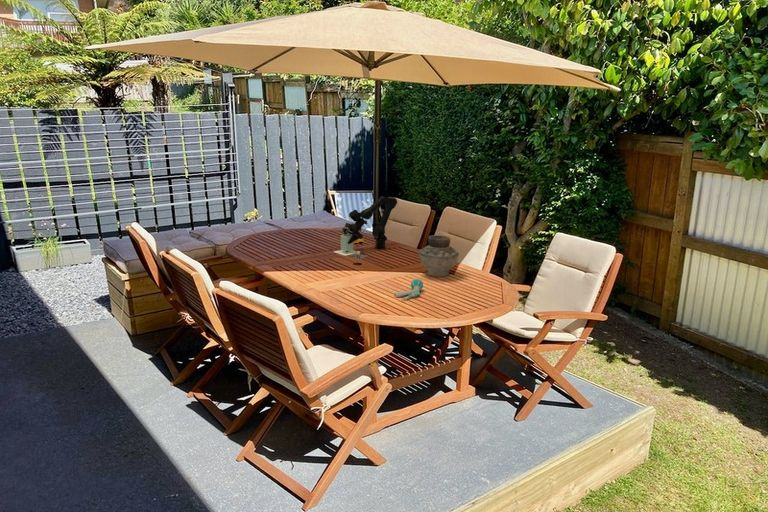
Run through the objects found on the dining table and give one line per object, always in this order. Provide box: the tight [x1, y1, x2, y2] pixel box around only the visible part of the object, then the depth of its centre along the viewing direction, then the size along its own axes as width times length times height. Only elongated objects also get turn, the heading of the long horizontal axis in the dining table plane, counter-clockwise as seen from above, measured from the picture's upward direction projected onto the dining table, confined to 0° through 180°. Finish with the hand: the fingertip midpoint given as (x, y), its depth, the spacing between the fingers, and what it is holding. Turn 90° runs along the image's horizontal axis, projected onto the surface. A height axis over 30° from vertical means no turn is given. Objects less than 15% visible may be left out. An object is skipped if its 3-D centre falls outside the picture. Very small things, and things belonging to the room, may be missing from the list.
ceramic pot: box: [418, 234, 460, 278], centre depth 370 cm, size 25×25×24 cm
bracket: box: [350, 234, 364, 244], centre depth 452 cm, size 11×7×12 cm
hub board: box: [332, 249, 358, 256], centre depth 418 cm, size 14×14×5 cm
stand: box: [349, 250, 369, 260], centre depth 407 cm, size 10×10×5 cm
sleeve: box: [340, 234, 354, 251], centre depth 416 cm, size 6×6×10 cm
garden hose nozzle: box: [393, 278, 424, 301], centre depth 332 cm, size 7×18×20 cm
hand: (345, 242), depth 416 cm, fingers closed on sleeve, 6 cm apart
